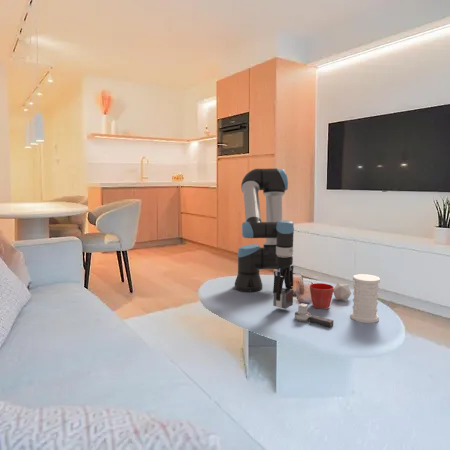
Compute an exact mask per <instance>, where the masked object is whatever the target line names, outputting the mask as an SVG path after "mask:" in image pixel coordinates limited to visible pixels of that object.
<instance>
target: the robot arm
mask: <svg viewBox="0 0 450 450" xmlns="http://www.w3.org/2000/svg"><path fill="white" fill-rule="evenodd" d="M287 175H288V174H287V172H286V170H285V169H283V168H254V169H252V170H250V171H249V172H247V173H246V174H245V175H244V176H243V178H242V181H241V185H240V186H241V187H240V189H241V192H242V193H243V201H244V203H243V205H244V215H245V216H244V217H245V221H243V222H242V224H241V236H242V238H244V239H266V240H265V242H264V243H263V244H262V245H263V247H261V246H260V244H255V243H253V244H252V243H251V244H245V245H242V246H240V247H239V248H238V250H237V276H236V278H235V281H234V289H235V290H236V291H239V292H247V293H254V292H255V293H256V292H259V291H261V290H263V286H264V285H263V282H262V279H261V275H260V270H274V271H273V287H272V288H273V289H272V291H273V294H274V293H276V306H275V307H276V308H280V309H283V308H282V293H281V292H282V288H286V289H290V290H294V289H293V287H294V268H295V267H294V266H293V264H294V263H293V262H294V259H293V258H294V257H293V255H294V233H295V232H294V231H295V225H294V221H292V220H287V219H286V220H283V196H284V195H285V194H286V191H287V190H288V188H289V185H288V184H289V182H288V181H289V180H288V176H287ZM260 191H262V194H263V195H264V196H265V214H266V215H265V217H266V218H265V220H266V221H262V216H261V214H262V213H261V206H260V205H261V204H260V197H259V192H260Z"/></svg>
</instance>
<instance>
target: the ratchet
mask: <svg viewBox="0 0 450 450" xmlns="http://www.w3.org/2000/svg"><path fill="white" fill-rule="evenodd" d="M297 308H298V311H295V312H294V321H296V322H299V323H310V324H314V325H317V326H322V327H324V328H328V329H331V328H332V327H334V320H333V319H331V318H328V317H323V316H319V315H314V314H313V315H312V313H311V312H309V304H306V303H302V302H301V303H300V304H298V307H297Z"/></svg>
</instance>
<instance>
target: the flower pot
mask: <svg viewBox="0 0 450 450" xmlns="http://www.w3.org/2000/svg"><path fill="white" fill-rule="evenodd" d="M334 288H335V286H334V285H331V284H328V283H322V282H320V283H319V282H316V283H311V284H309V289H310V290H309V291H310V299H311V303H312V307H314V308H316V309H321V310H327V309H329V308H330V306H331V303H332V300H333V299H332V297H333V295H334V293H333V290H334Z"/></svg>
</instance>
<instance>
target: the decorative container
mask: <svg viewBox="0 0 450 450" xmlns="http://www.w3.org/2000/svg"><path fill="white" fill-rule="evenodd" d="M352 281H354V283H353V291H352V293H353V298H352V311H351V312H350V313H349V314H350V315H349V316H350V319H352V320H353V321H356V322H358V323H363V324H374V323H377V322H379V320H380V316H379V315H378V314H377V313H378V303H379V301H378V298H379V292H378V291H379V283H381V278H380V277H379V276H378V275H373V274H367V273H359V274H354V275H353V276H352Z"/></svg>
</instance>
